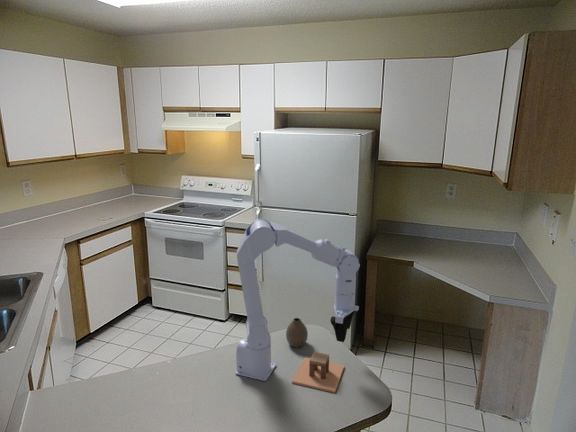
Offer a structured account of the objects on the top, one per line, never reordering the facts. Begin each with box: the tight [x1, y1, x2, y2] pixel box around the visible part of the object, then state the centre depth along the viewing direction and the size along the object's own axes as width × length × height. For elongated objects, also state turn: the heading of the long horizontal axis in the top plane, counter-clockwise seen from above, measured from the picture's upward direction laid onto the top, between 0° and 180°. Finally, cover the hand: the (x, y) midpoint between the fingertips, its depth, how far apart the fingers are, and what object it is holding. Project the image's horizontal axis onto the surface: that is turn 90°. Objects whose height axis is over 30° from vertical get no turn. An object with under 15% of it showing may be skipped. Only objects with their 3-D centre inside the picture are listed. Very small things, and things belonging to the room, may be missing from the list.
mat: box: [291, 357, 345, 393], centre depth 113 cm, size 12×12×1 cm
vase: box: [285, 317, 309, 348], centre depth 128 cm, size 7×7×9 cm
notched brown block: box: [309, 351, 330, 379], centre depth 112 cm, size 4×4×5 cm
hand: (343, 334), depth 117 cm, fingers open, 7 cm apart
